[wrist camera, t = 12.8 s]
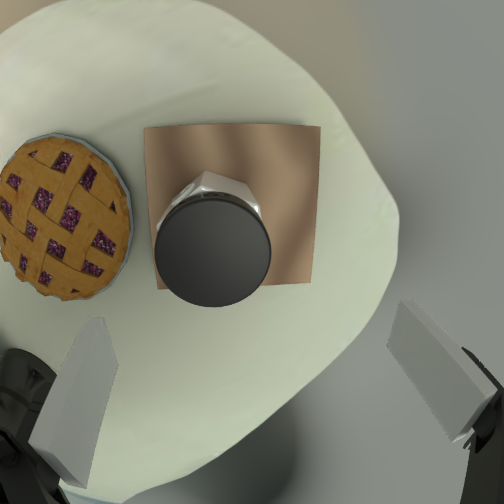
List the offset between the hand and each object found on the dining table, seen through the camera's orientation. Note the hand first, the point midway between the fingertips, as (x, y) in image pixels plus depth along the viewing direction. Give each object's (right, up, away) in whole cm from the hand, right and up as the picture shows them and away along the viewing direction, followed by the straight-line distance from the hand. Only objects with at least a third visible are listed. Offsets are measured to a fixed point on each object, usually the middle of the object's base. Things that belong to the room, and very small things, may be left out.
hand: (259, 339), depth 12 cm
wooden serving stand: (-3, +10, +24) cm, 26 cm away
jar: (-4, +8, +19) cm, 21 cm away
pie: (-25, +8, +22) cm, 35 cm away
